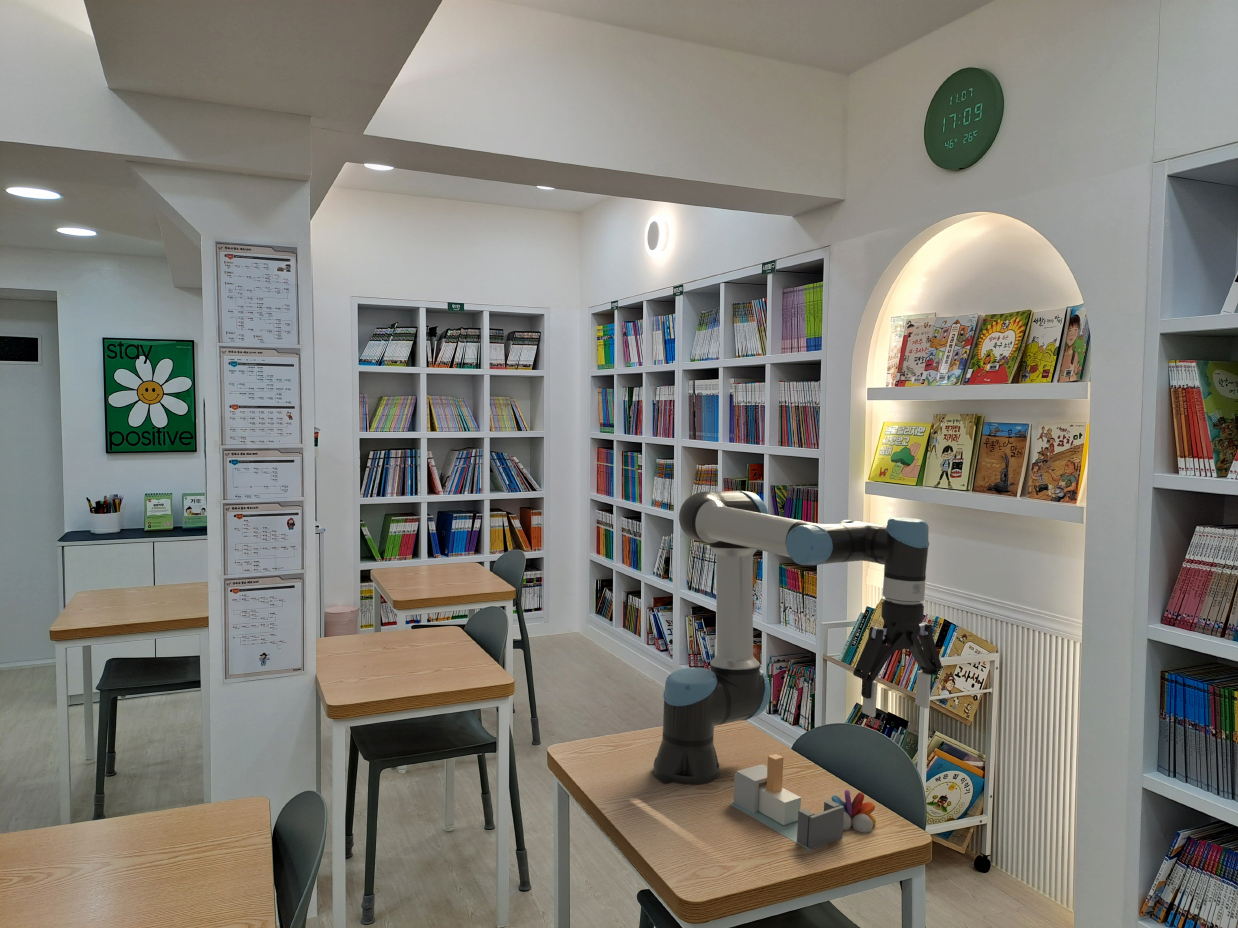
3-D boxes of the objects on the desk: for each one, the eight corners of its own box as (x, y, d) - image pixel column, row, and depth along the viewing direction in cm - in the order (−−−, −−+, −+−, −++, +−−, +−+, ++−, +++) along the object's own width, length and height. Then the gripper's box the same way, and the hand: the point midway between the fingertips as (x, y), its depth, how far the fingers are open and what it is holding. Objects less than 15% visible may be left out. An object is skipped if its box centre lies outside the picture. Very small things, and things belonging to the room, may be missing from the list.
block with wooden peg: (741, 801, 174) (744, 747, 173) (757, 796, 176) (760, 743, 176) (783, 825, 164) (786, 767, 164) (799, 819, 167) (802, 763, 166)
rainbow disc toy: (877, 839, 162) (879, 803, 162) (826, 832, 164) (828, 797, 164) (873, 819, 171) (874, 785, 170) (824, 813, 173) (826, 779, 172)
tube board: (728, 808, 173) (730, 771, 173) (763, 797, 179) (764, 761, 179) (808, 854, 155) (810, 814, 155) (843, 841, 161) (846, 801, 161)
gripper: (867, 608, 147) (859, 725, 149) (966, 600, 159) (958, 709, 160) (838, 599, 154) (831, 711, 155) (935, 592, 165) (927, 696, 166)
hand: (895, 710), depth 158 cm, fingers open, 13 cm apart
